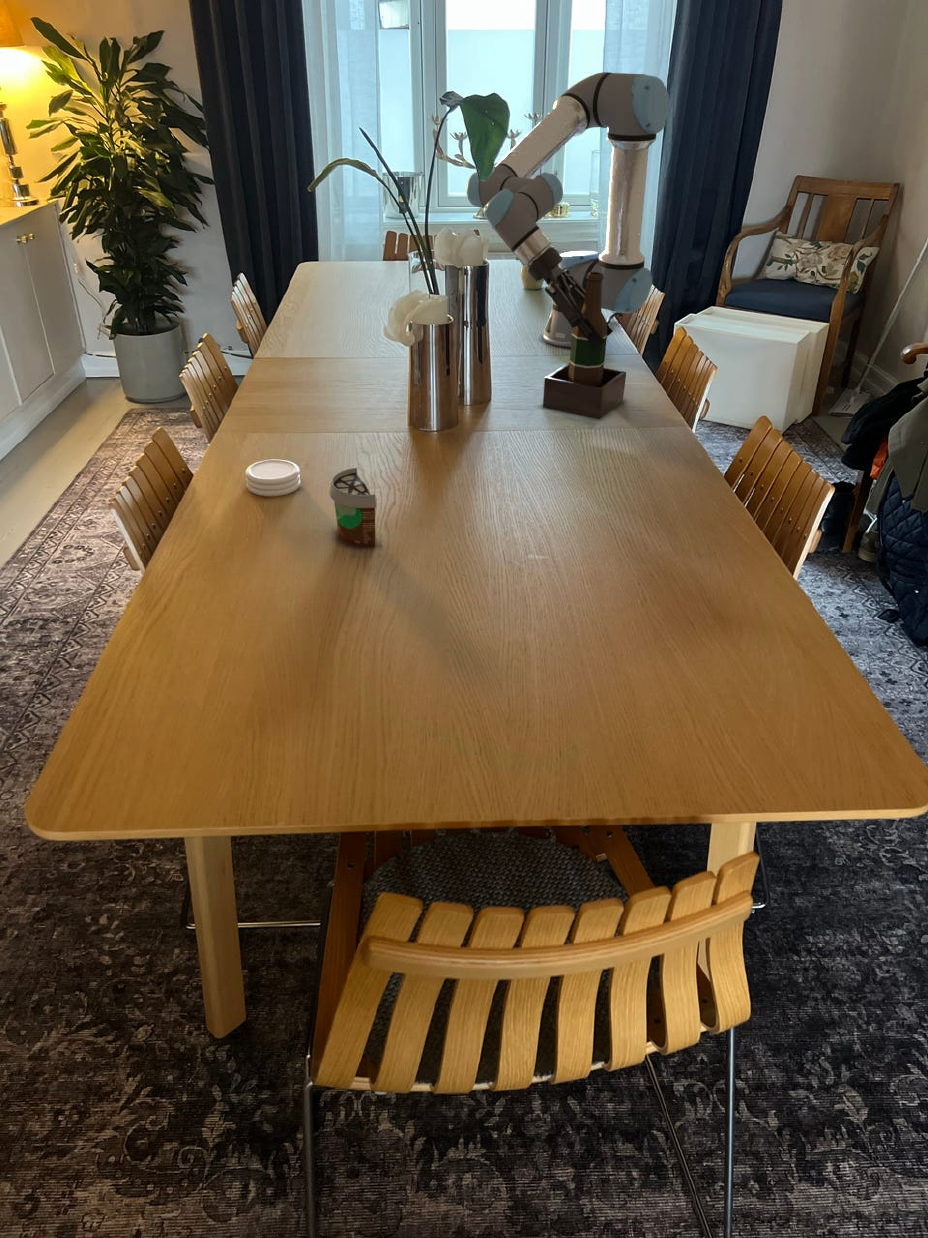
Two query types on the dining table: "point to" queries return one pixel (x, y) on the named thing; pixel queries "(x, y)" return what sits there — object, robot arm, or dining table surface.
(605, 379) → the box
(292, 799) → the dining table surface
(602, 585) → the dining table surface
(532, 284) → the squeeze bottle
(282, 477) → the coaster
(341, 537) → the food container
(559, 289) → the robot arm
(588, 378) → the beer bottle
